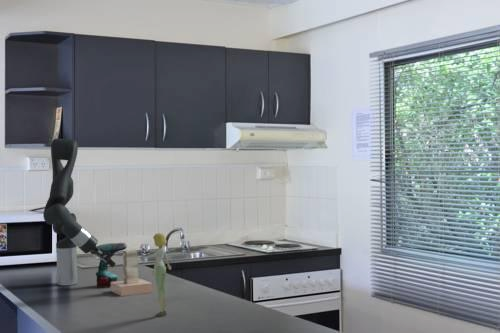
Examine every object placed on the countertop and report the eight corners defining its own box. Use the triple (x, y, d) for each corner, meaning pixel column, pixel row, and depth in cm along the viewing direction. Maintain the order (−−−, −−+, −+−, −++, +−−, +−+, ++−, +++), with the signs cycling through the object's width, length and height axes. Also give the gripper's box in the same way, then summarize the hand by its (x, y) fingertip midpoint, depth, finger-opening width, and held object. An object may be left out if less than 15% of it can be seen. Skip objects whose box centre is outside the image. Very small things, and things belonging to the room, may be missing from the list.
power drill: (124, 287, 314) (123, 243, 314) (91, 287, 318) (89, 243, 317) (130, 285, 321) (129, 241, 321) (97, 284, 325) (96, 241, 325)
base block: (110, 291, 307) (110, 282, 307) (141, 287, 314) (140, 278, 314) (121, 296, 295) (121, 286, 295) (152, 292, 302) (152, 283, 302)
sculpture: (164, 311, 263) (162, 231, 262) (175, 311, 261) (173, 231, 261) (146, 318, 251) (144, 235, 250) (158, 319, 249) (155, 235, 249)
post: (123, 282, 305) (122, 250, 305) (134, 281, 308) (133, 249, 308) (127, 283, 301) (126, 251, 301) (138, 282, 304) (137, 250, 303)
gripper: (94, 234, 289) (122, 259, 295) (84, 232, 302) (111, 256, 307) (82, 248, 287) (110, 273, 292) (73, 245, 299) (99, 269, 305)
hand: (110, 264), depth 300 cm, fingers open, 8 cm apart
